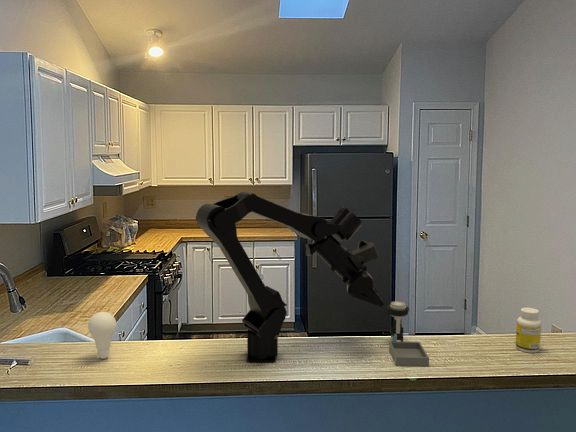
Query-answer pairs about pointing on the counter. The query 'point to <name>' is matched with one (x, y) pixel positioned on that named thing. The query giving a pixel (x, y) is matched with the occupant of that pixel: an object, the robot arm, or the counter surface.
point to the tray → (408, 354)
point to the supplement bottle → (528, 331)
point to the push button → (397, 319)
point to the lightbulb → (102, 332)
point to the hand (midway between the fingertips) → (379, 299)
